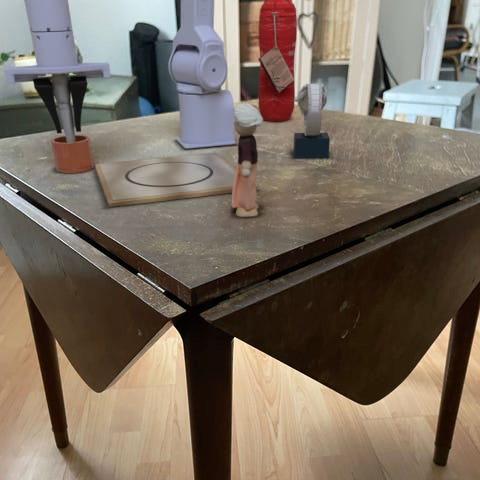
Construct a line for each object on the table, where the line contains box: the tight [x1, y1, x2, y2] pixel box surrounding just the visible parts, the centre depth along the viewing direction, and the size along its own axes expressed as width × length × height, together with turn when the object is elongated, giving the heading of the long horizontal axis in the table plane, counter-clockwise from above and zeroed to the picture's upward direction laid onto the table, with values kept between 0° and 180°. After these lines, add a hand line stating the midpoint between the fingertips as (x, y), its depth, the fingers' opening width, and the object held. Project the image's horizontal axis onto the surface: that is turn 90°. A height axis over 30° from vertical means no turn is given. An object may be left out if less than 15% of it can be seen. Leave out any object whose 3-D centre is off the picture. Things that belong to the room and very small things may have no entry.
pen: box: [51, 73, 76, 143], centre depth 82 cm, size 2×3×14 cm
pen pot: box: [50, 134, 95, 174], centre depth 85 cm, size 6×6×4 cm
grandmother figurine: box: [230, 102, 264, 218], centre depth 64 cm, size 8×4×13 cm, turn 5°
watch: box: [293, 83, 331, 159], centre depth 88 cm, size 6×8×11 cm
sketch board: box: [94, 152, 236, 208], centre depth 80 cm, size 20×20×1 cm
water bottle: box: [257, 0, 298, 123], centre depth 109 cm, size 12×8×25 cm, turn 168°
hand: (69, 131), depth 83 cm, fingers closed on pen, 2 cm apart
